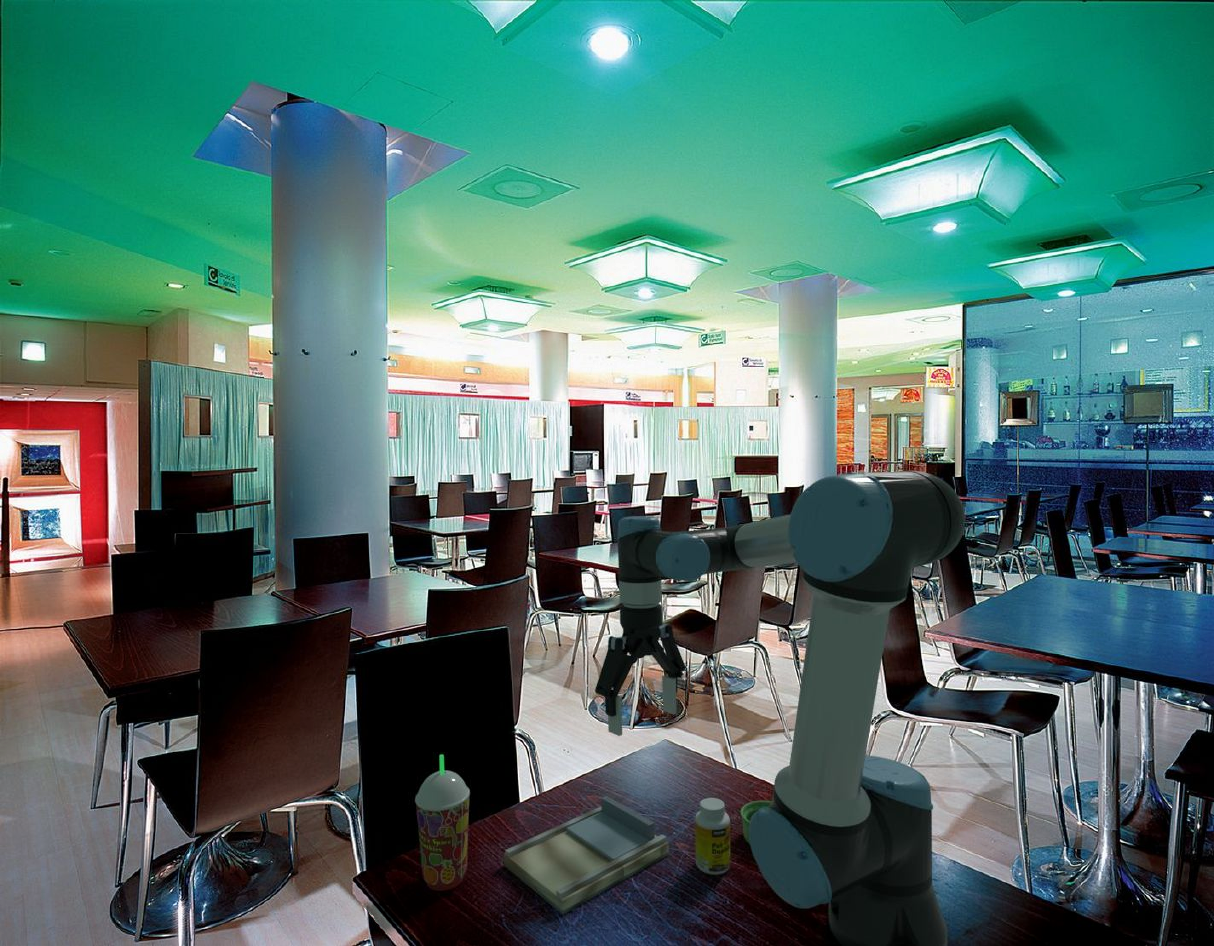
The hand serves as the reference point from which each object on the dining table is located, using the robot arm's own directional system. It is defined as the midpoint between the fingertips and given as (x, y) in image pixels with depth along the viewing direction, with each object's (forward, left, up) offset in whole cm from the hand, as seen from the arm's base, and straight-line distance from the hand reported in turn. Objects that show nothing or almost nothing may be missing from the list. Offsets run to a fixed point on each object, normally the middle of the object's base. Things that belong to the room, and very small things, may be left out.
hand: (643, 722), depth 122 cm
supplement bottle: (-16, 0, -19) cm, 25 cm away
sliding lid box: (-1, +14, -19) cm, 23 cm away
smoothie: (+10, +34, -19) cm, 40 cm away
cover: (-1, +9, -17) cm, 19 cm away
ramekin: (-17, -13, -19) cm, 29 cm away
